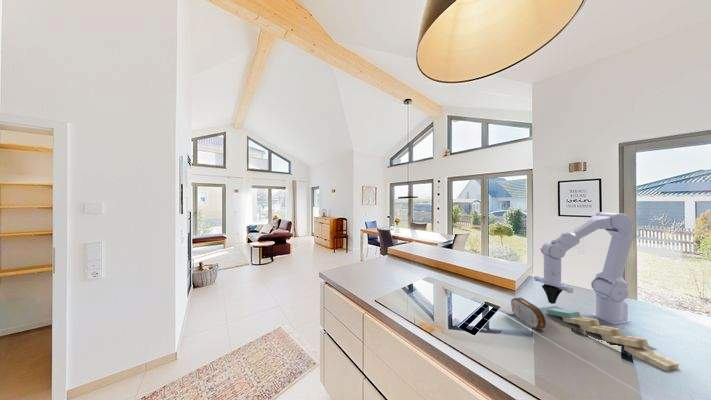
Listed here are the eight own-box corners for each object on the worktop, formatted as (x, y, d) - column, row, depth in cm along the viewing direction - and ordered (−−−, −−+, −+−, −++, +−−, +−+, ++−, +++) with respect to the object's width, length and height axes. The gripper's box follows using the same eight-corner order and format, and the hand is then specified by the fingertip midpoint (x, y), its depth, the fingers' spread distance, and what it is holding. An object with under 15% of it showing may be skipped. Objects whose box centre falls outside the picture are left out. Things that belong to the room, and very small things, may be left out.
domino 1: (555, 308, 99) (578, 311, 91) (557, 312, 99) (580, 316, 91) (546, 309, 98) (569, 313, 90) (547, 314, 98) (570, 318, 89)
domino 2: (571, 315, 94) (597, 319, 85) (573, 320, 93) (599, 325, 85) (562, 316, 92) (587, 321, 84) (563, 321, 92) (589, 326, 84)
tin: (546, 333, 84) (546, 311, 84) (538, 334, 84) (538, 311, 84) (516, 313, 100) (516, 294, 99) (509, 313, 99) (509, 294, 99)
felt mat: (555, 306, 105) (555, 305, 105) (657, 350, 75) (657, 349, 75) (531, 309, 102) (531, 309, 102) (626, 356, 72) (626, 355, 72)
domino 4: (611, 332, 81) (646, 338, 73) (613, 338, 81) (648, 345, 72) (600, 334, 80) (635, 341, 72) (602, 340, 80) (637, 347, 71)
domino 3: (589, 323, 88) (619, 328, 79) (591, 328, 87) (621, 334, 79) (579, 324, 87) (609, 330, 78) (581, 330, 86) (611, 336, 78)
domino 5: (635, 342, 75) (678, 363, 67) (634, 348, 76) (678, 369, 67) (624, 344, 74) (667, 366, 66) (624, 350, 74) (666, 372, 66)
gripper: (528, 267, 105) (528, 296, 105) (563, 277, 90) (563, 312, 91) (541, 266, 106) (540, 295, 106) (577, 276, 92) (577, 310, 92)
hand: (552, 302), depth 99 cm, fingers closed
